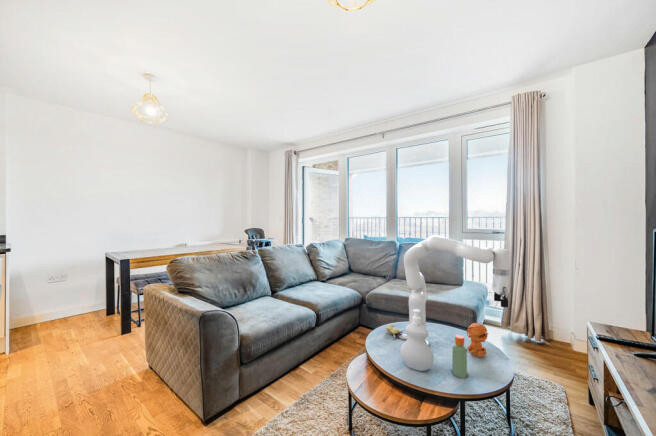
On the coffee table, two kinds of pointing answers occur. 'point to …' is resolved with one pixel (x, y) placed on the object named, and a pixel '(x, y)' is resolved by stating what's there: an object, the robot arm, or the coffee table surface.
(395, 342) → the coffee table surface
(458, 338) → the cap
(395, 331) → the figurine
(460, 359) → the bottle
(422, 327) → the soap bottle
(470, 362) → the coffee table surface
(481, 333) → the orange sculpture
